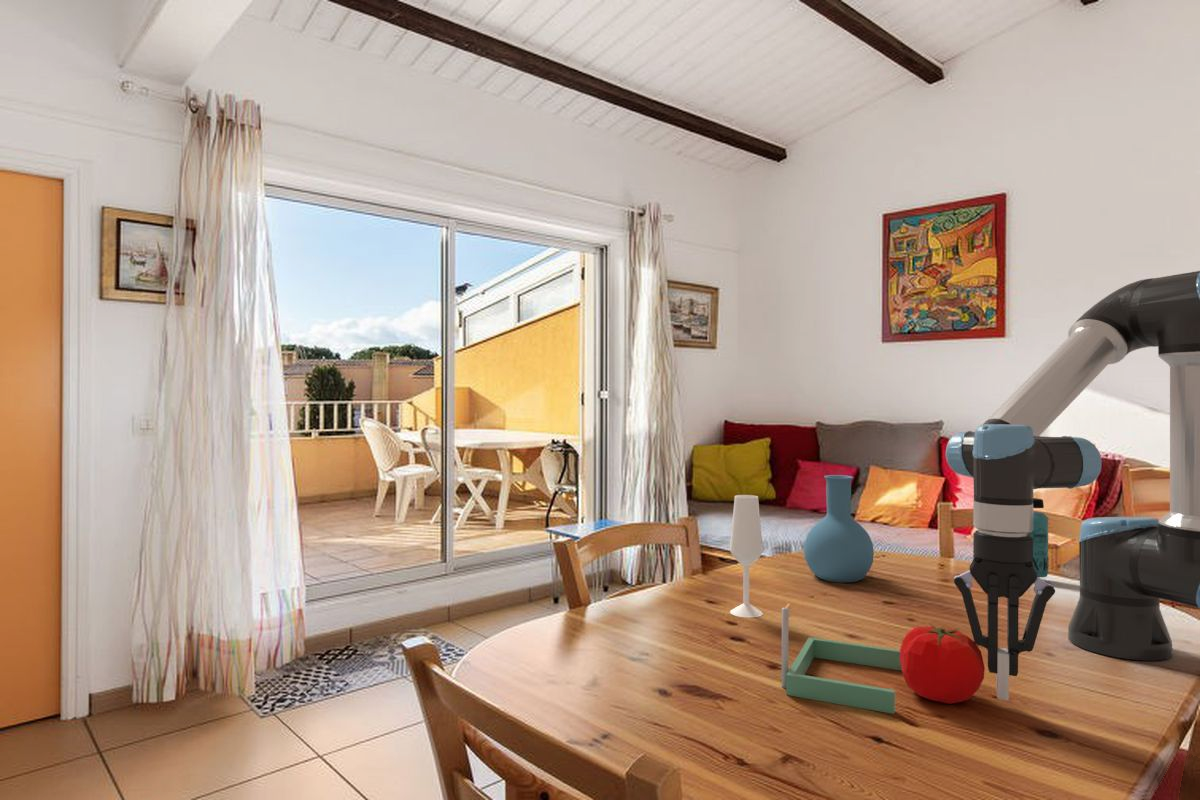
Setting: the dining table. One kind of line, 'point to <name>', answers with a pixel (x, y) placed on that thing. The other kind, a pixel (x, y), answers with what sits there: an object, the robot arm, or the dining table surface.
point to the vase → (838, 538)
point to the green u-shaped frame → (835, 689)
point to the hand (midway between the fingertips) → (1002, 696)
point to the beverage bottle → (1040, 540)
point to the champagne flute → (746, 545)
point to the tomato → (941, 664)
